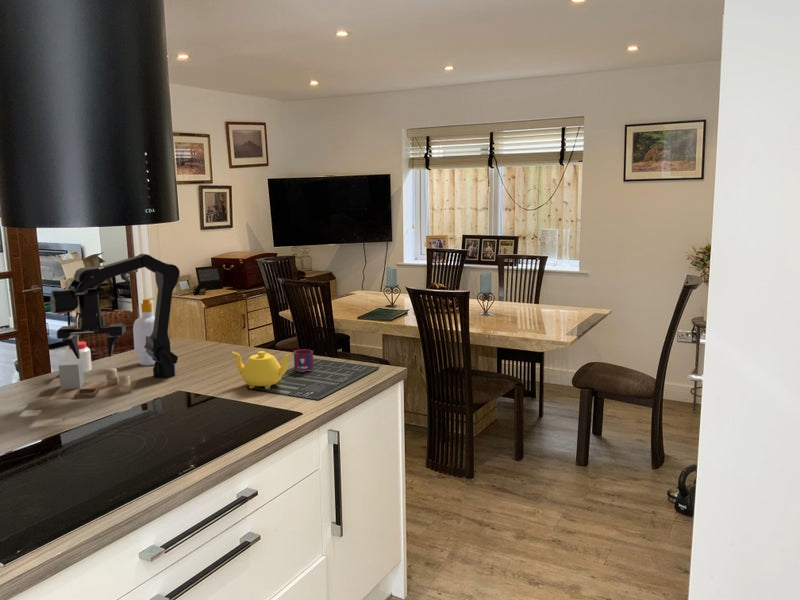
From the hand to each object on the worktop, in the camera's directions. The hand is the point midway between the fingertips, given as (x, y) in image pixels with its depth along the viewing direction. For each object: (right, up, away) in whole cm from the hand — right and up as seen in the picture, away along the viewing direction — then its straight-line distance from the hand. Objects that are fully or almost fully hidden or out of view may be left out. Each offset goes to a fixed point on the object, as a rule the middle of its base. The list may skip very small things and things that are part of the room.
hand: (94, 357), depth 200 cm
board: (0, -12, +2) cm, 12 cm away
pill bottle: (-16, -8, +23) cm, 29 cm away
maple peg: (+10, -11, -2) cm, 15 cm away
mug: (+61, -7, +31) cm, 69 cm away
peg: (+3, -9, +6) cm, 11 cm away
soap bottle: (+3, -6, +37) cm, 37 cm away
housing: (-9, -10, +4) cm, 14 cm away
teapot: (+50, -10, +12) cm, 53 cm away
